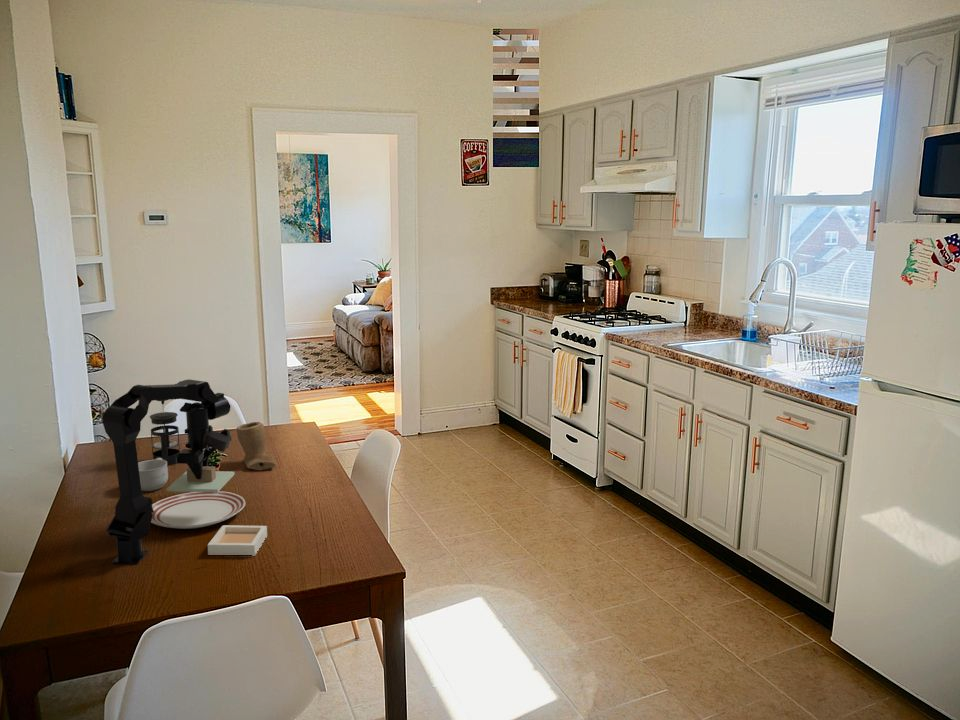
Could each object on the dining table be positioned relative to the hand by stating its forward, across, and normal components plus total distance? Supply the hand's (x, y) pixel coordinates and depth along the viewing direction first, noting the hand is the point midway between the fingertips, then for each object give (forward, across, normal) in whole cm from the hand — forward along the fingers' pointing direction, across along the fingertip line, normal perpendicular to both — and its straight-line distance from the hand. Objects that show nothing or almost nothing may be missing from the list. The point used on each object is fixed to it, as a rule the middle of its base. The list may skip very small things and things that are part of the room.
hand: (201, 477), depth 208 cm
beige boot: (+14, +47, -1) cm, 49 cm away
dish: (+13, -16, -15) cm, 25 cm away
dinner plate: (+14, +3, +3) cm, 14 cm away
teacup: (+13, +26, +26) cm, 39 cm away
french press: (+14, +48, +31) cm, 59 cm away
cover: (+2, 0, 0) cm, 2 cm away
